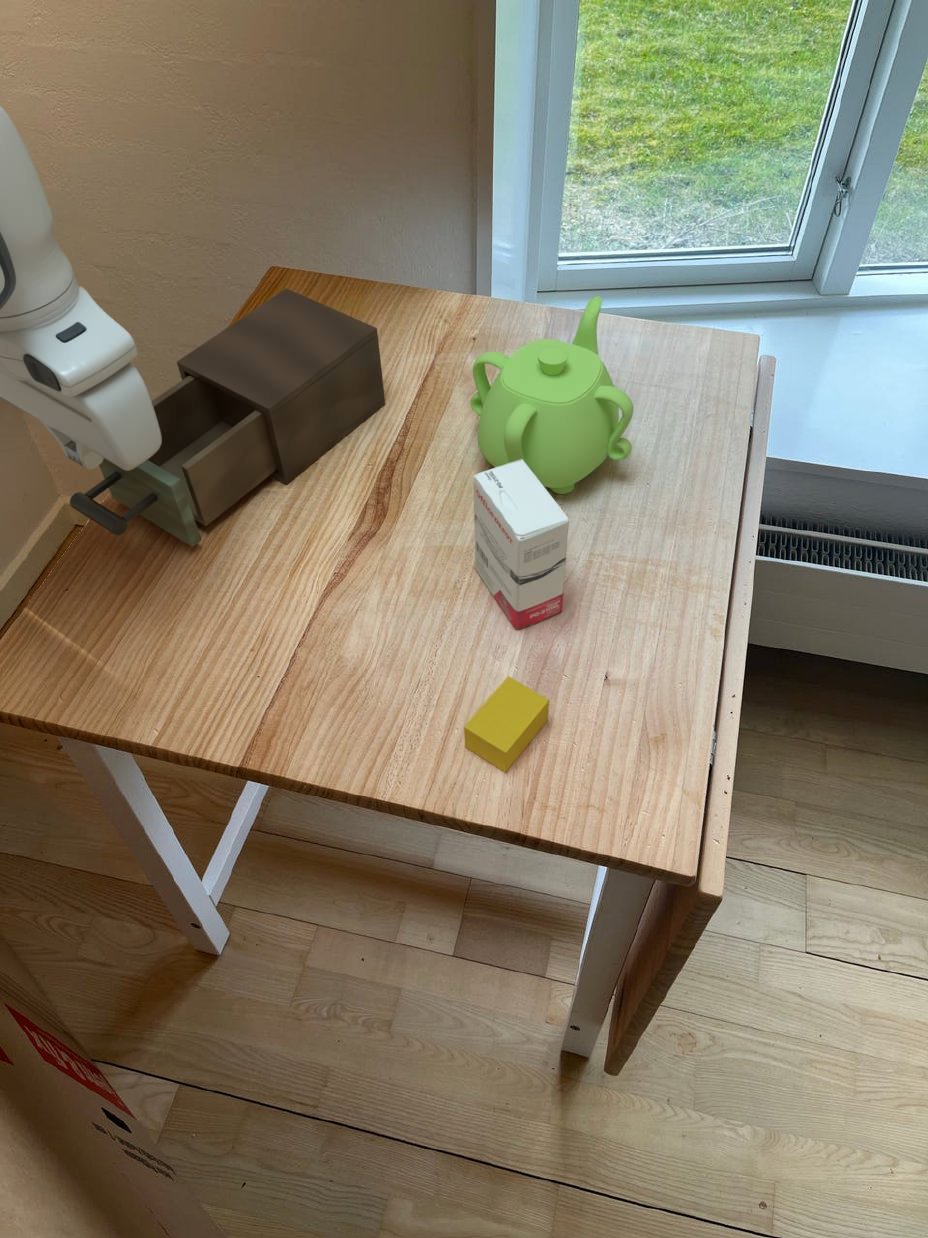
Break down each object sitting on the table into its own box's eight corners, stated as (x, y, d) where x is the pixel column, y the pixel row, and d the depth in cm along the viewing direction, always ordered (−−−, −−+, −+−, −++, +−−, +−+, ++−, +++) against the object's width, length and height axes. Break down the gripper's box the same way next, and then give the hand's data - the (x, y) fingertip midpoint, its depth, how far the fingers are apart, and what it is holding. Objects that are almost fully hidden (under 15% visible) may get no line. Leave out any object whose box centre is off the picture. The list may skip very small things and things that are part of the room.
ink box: (564, 612, 84) (573, 518, 75) (515, 632, 83) (517, 539, 74) (519, 549, 89) (522, 454, 80) (472, 567, 88) (469, 473, 79)
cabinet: (286, 485, 95) (268, 409, 88) (199, 437, 100) (176, 361, 93) (385, 404, 103) (377, 327, 95) (300, 363, 108) (286, 287, 100)
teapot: (462, 413, 102) (458, 309, 92) (590, 394, 103) (600, 290, 93) (493, 517, 92) (492, 413, 82) (634, 495, 93) (650, 390, 83)
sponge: (505, 772, 74) (505, 753, 72) (464, 747, 76) (463, 726, 73) (547, 720, 77) (549, 699, 75) (507, 696, 79) (508, 675, 76)
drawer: (149, 582, 86) (123, 521, 80) (69, 529, 91) (39, 468, 85) (298, 462, 96) (284, 400, 90) (219, 420, 101) (201, 358, 94)
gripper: (-93, 293, 73) (-20, 433, 84) (79, 389, 65) (136, 530, 76) (-23, 257, 76) (39, 396, 87) (149, 344, 68) (194, 486, 79)
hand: (85, 460), depth 81 cm, fingers closed
